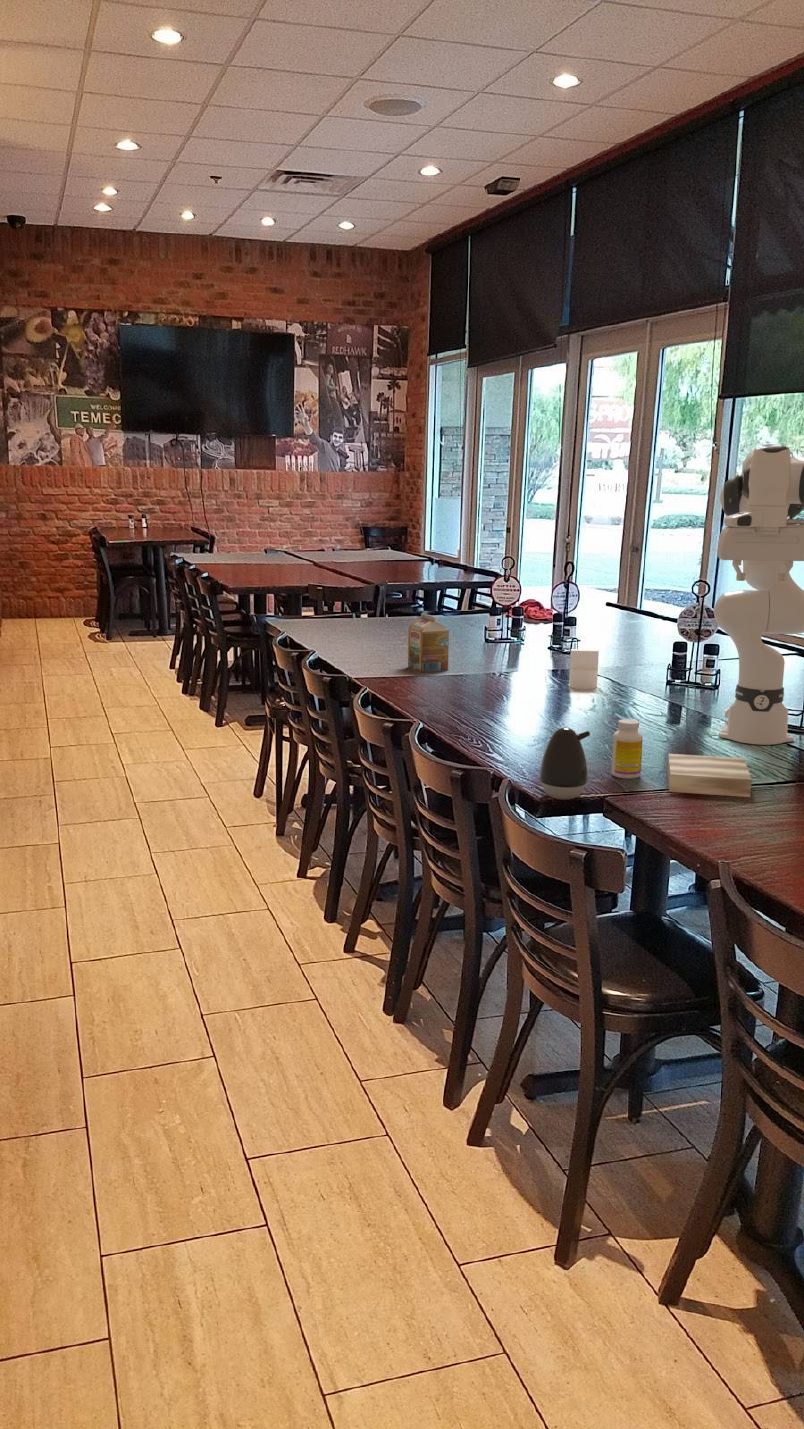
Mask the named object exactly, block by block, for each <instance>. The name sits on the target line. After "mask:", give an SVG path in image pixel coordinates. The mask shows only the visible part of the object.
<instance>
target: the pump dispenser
mask: <svg viewBox="0 0 804 1429" xmlns="http://www.w3.org/2000/svg"><path fill="white" fill-rule="evenodd" d="M590 735H591V733H590V731H588V730H586V731H583V732H581V733H576V731H575V730H573V729H572V728H570V727H561V728H558V729H557V730H555V731H554V732H553V734H552V735H551V737H550V739H549V741H548V743H547V745H546V747H545V749H544V753H543V757H542V760H541V764H540V765H541V766H540V772H539V780H540V783H541V787H542V789H543V791H544V792H545V794H546V795H548V796H549V797H550V798H552V799H555V798H556V800H559V801H560V800H561V801H562V800H563V801H565V800H566V801H569V800H572V799H576V798H577V797H579V796H580V795H581V794H582V792H584V790H585V787H586V784H587V783H588V775H589V774H588V764H587V759H586V754H585V751H584V747H583V744H582V743H581V741H582V740H584V739H586V738H588V737H589V736H590Z"/></svg>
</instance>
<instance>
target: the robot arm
mask: <svg viewBox="0 0 804 1429" xmlns="http://www.w3.org/2000/svg"><path fill="white" fill-rule="evenodd" d="M741 468H742V469H741V474H739V471H738V472H735V475H734V476H732V477H731V478H728V480H727V481H726V482H724V483H723V487H722V489H721V492H720V495H719V502H720V506H721V509H722V510H723V512H724V513H723V514H725V515H726V516H725V517H724V519H723V524H724V526H725V527H723V529H721V531H720V534H719V538H718V542H717V549H716V556H717V557H718V559H719V560H722V561H731V562H732V563H731V564H732V567H733V569H734V571H735V573H736V576H735V577H736V578H735V580H736V581H737V582H741V581H743V582H745V581H746V583H747V584H748V585H749V586H750V587H751V588H753V589H755V590H752V589H751V590H750V589H739V590H733V591H727V592H724V593H722V594H721V595H720V596H719V597H718V598H717V600H716V602H715V604H714V609H713V615H714V620H715V622H716V624H717V626H718V627H719V628H720V629H721V630H723V631H724V632H725V634H727V636H729V638H730V639H731V640H732V641H733V644H734V645H735V648H736V651H737V655H738V680H737V681H738V683H737V684H736V686H735V693H734V694H735V695H734V696H735V701H734V702H733V703H732V704H731V705H730V706H729V707H728V708H727V709H725V710H724V711H725V712H724V718H725V719H726V720H725V723H724V725H723V726H722V728H721V729H720V731H719V732H718V737H719V738H723V739H728V740H732V741H734V742H739V743H743V744H748V745H749V744H750V745H761V746H763V745H764V746H766V745H769V746H771V745H779V744H783V743H788V742H794V741H795V740H794V737H795V736H793V735H792V734H790V733H788V729H789V728H788V727H789V726H788V724H789V709H788V708H787V707H786V706H785V705H784V703H783V702H784V696H785V688H784V686H783V684H784V674H785V673H784V672H785V658H784V656H783V655H782V653H781V652H779V650H777V649H775V648H774V647H772V646H770V645H767V644H766V643H764V642H763V641H762V635H765V634H767V635H769V634H770V635H797V634H798V635H799V634H804V589H802V588H801V586H799V585H798V584H797V583H796V582H795V581H794V579H793V578H792V576H791V574H790V572H791V570H792V568H793V567H794V562H804V518H803V519H796V518H795V517H796V516H798V515H800V513H801V512H802V511H803V510H804V460H800V459H798V458H795V457H793V456H791V450H790V447H788V446H786V445H785V444H777V443H775V444H774V443H768V444H760V445H758V446H756V447H755V448H754V449H753V450H752V451H750V453H748V455H747V456H746V457H745V459H744V461H743V463H742V467H741ZM788 517H789V518H788ZM794 518H795V519H794ZM740 566H742V570H741V568H740Z"/></svg>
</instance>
